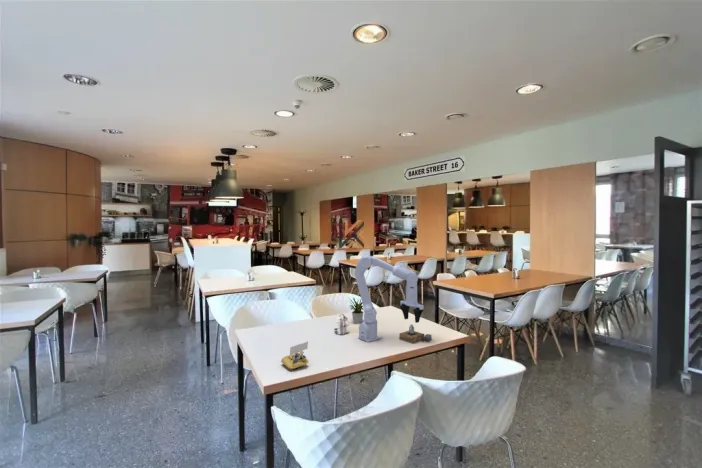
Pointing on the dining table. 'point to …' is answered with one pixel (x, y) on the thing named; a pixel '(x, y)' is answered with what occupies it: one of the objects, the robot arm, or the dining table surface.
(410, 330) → the round bit
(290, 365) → the yellow card holder
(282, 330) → the dining table surface
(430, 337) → the square bar
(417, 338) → the socket block
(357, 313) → the house plant
